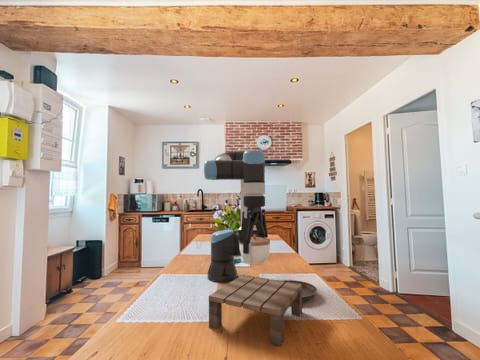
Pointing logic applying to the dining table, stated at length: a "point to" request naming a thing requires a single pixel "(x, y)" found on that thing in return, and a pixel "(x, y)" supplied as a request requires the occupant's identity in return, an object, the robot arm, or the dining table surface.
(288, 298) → the walnut rack
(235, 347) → the dining table surface
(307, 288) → the plant saucer
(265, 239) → the lidded jar
